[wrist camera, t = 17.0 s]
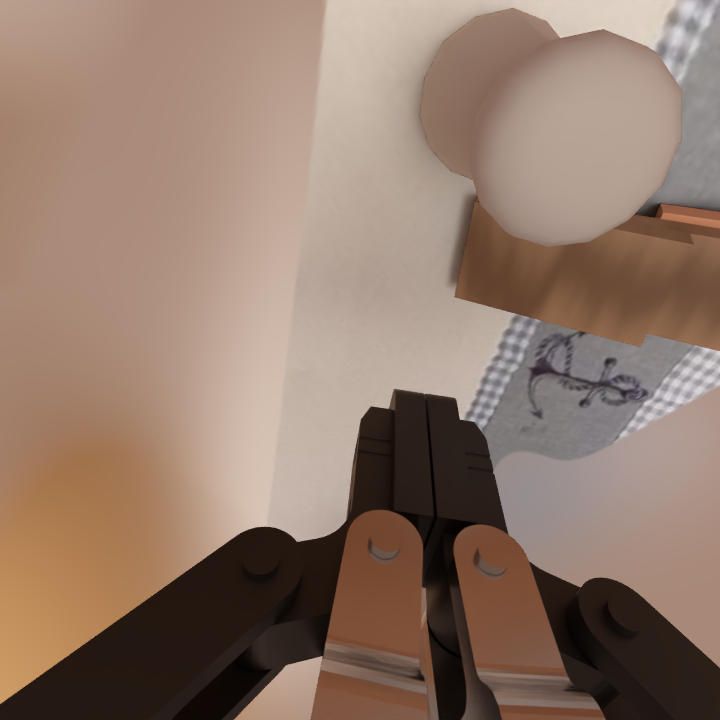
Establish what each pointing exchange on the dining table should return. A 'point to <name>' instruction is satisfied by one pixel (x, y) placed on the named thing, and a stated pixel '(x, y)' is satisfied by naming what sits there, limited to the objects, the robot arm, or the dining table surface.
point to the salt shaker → (552, 124)
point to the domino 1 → (575, 276)
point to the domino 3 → (692, 289)
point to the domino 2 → (689, 215)
